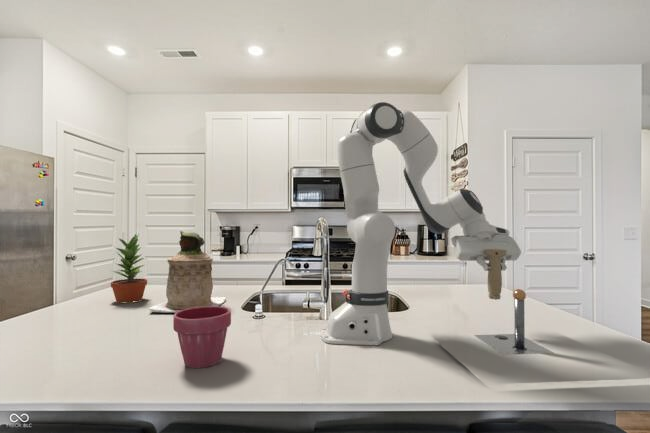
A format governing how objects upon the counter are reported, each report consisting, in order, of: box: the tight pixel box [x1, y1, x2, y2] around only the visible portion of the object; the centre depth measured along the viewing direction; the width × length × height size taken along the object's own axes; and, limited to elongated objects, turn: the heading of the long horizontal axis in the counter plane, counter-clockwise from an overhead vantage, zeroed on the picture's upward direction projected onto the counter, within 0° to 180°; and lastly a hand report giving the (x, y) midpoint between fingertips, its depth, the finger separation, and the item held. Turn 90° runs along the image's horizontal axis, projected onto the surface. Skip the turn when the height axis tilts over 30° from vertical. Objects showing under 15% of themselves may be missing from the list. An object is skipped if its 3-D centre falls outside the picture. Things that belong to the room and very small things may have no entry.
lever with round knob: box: [512, 288, 527, 350], centre depth 100 cm, size 3×3×16 cm
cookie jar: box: [148, 230, 227, 314], centre depth 154 cm, size 25×25×32 cm
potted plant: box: [110, 233, 148, 303], centre depth 165 cm, size 15×15×30 cm
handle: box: [484, 249, 507, 301], centre depth 113 cm, size 5×6×15 cm
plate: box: [473, 333, 555, 355], centre depth 104 cm, size 14×16×1 cm
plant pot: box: [172, 305, 232, 369], centre depth 95 cm, size 14×14×13 cm
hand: (496, 269), depth 112 cm, fingers closed on handle, 3 cm apart
